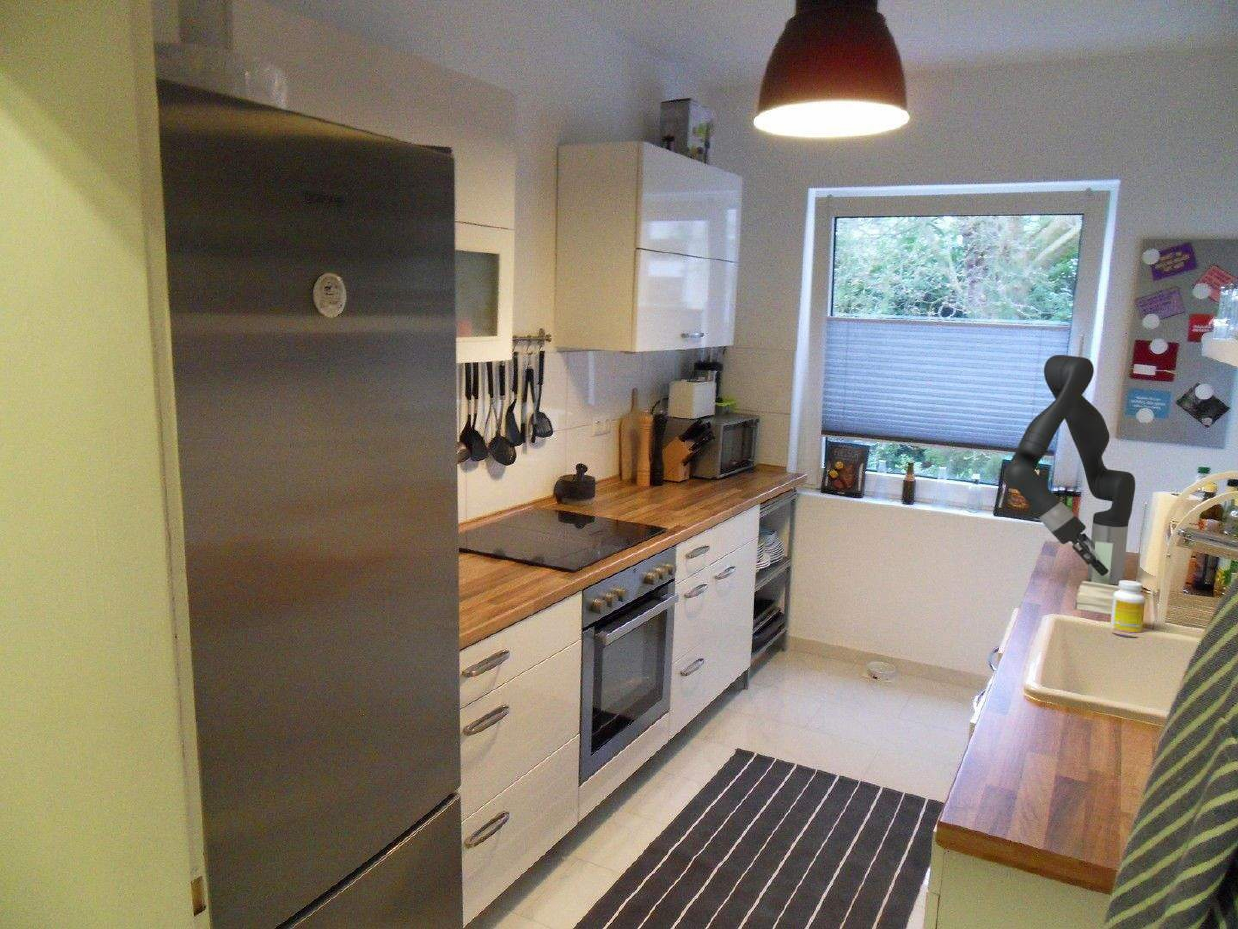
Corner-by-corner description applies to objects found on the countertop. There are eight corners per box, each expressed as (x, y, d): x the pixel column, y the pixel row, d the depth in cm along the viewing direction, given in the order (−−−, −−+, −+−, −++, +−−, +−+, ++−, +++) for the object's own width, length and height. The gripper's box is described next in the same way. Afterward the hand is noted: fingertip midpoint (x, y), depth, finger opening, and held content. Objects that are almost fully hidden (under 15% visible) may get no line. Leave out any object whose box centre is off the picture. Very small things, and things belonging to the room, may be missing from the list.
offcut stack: (1077, 602, 230) (1079, 580, 229) (1118, 608, 225) (1120, 586, 224) (1074, 609, 223) (1076, 586, 223) (1117, 615, 218) (1119, 592, 218)
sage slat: (1090, 599, 232) (1095, 541, 230) (1107, 602, 230) (1113, 543, 228) (1089, 601, 231) (1095, 542, 228) (1106, 604, 228) (1112, 544, 226)
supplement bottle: (1145, 640, 204) (1151, 587, 203) (1115, 638, 206) (1120, 585, 204) (1135, 631, 211) (1140, 580, 209) (1105, 629, 212) (1110, 578, 211)
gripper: (1071, 518, 225) (1118, 567, 221) (1076, 510, 237) (1120, 557, 233) (1047, 535, 229) (1092, 584, 224) (1053, 526, 241) (1096, 573, 236)
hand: (1106, 570), depth 229 cm, fingers open, 8 cm apart
